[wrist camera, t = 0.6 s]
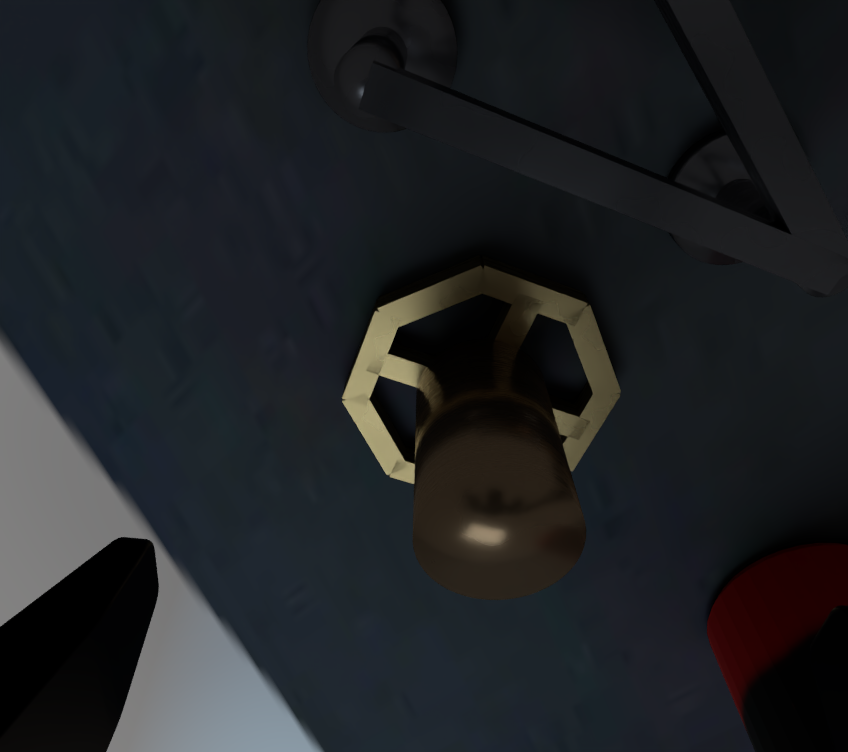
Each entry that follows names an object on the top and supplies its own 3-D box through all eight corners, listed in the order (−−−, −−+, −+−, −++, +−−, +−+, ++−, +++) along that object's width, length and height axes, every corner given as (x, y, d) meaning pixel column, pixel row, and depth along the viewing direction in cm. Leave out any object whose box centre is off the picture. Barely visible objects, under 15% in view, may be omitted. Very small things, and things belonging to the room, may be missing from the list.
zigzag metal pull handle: (1062, -63, 16) (1367, -79, 11) (803, 296, 20) (929, 405, 15) (428, -411, 13) (430, -659, 8) (294, 96, 18) (240, 148, 12)
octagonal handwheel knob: (653, 318, 21) (746, 461, 15) (538, 506, 24) (574, 681, 18) (404, 226, 19) (393, 342, 13) (323, 441, 23) (286, 608, 17)
